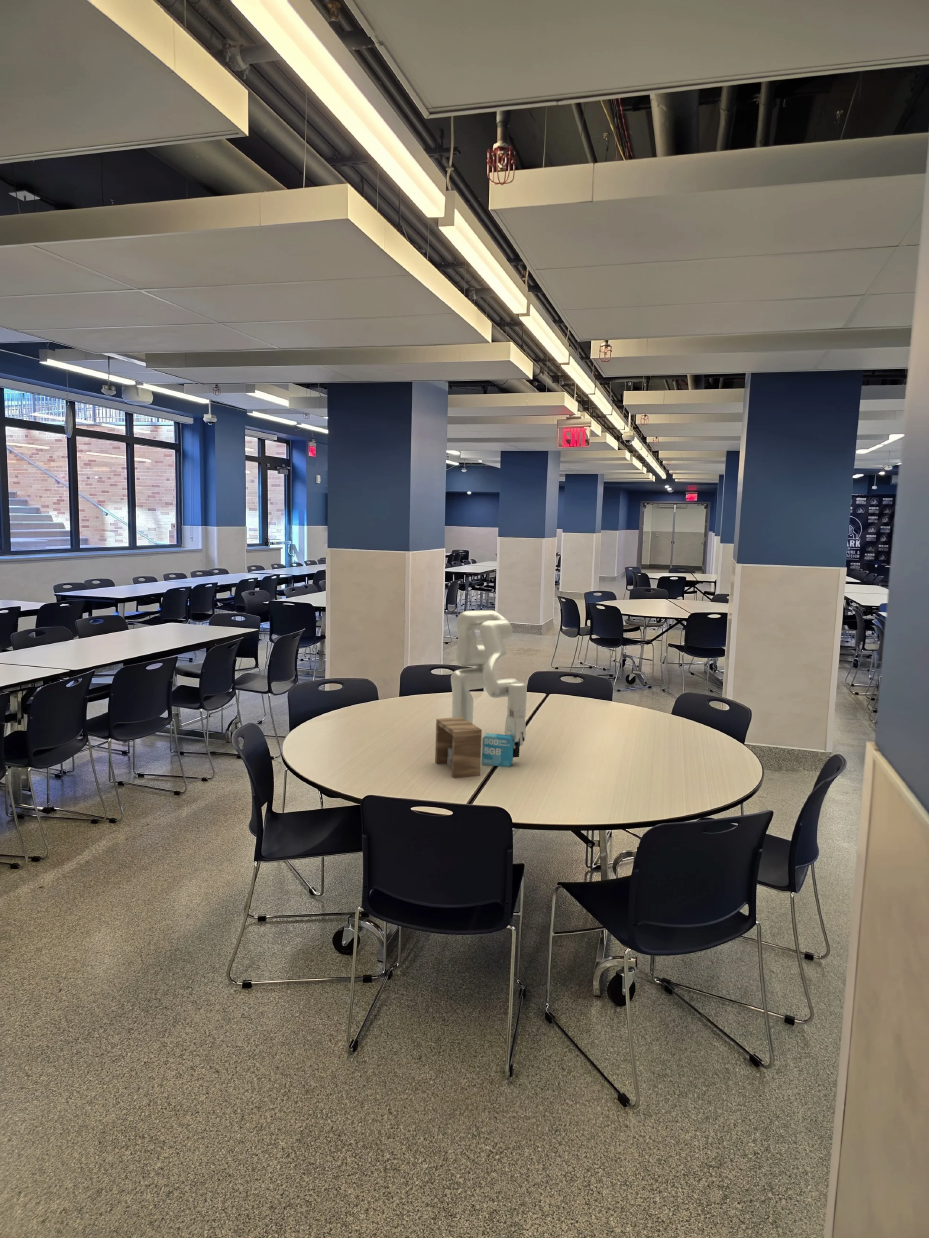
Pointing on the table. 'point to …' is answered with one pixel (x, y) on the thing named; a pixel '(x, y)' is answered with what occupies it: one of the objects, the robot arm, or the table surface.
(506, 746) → the data package
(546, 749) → the table surface
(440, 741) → the overhang shelf
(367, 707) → the table surface
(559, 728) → the table surface
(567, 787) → the table surface
